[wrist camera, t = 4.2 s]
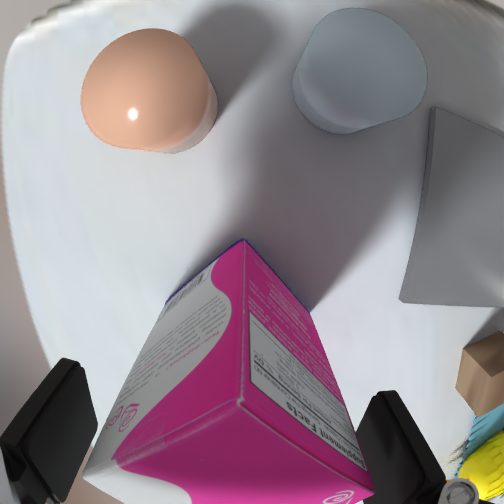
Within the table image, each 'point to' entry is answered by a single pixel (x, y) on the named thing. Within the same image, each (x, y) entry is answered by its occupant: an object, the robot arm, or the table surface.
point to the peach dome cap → (149, 93)
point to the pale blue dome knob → (358, 72)
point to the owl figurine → (485, 455)
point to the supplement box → (231, 402)
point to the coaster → (459, 218)
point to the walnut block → (483, 374)
